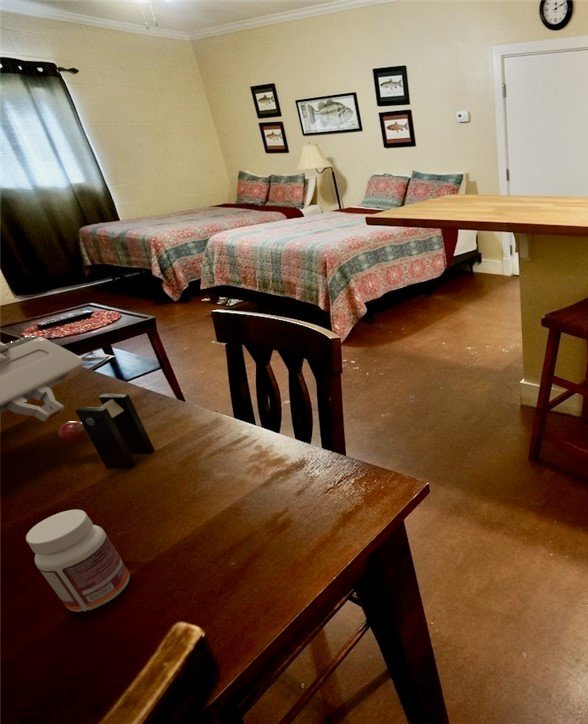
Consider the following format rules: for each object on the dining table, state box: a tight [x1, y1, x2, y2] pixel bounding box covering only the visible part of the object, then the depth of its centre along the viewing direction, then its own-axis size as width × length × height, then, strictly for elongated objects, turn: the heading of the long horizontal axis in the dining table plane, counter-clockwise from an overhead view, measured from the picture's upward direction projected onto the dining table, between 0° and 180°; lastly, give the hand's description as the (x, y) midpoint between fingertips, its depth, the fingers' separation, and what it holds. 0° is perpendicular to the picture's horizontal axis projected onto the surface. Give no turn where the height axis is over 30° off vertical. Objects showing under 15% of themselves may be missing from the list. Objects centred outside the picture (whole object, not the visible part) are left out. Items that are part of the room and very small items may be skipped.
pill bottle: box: [25, 509, 131, 613], centre depth 56 cm, size 6×6×11 cm
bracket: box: [74, 393, 156, 470], centre depth 78 cm, size 9×7×13 cm
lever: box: [57, 399, 124, 444], centre depth 77 cm, size 12×4×4 cm, turn 84°
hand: (55, 414), depth 77 cm, fingers closed
